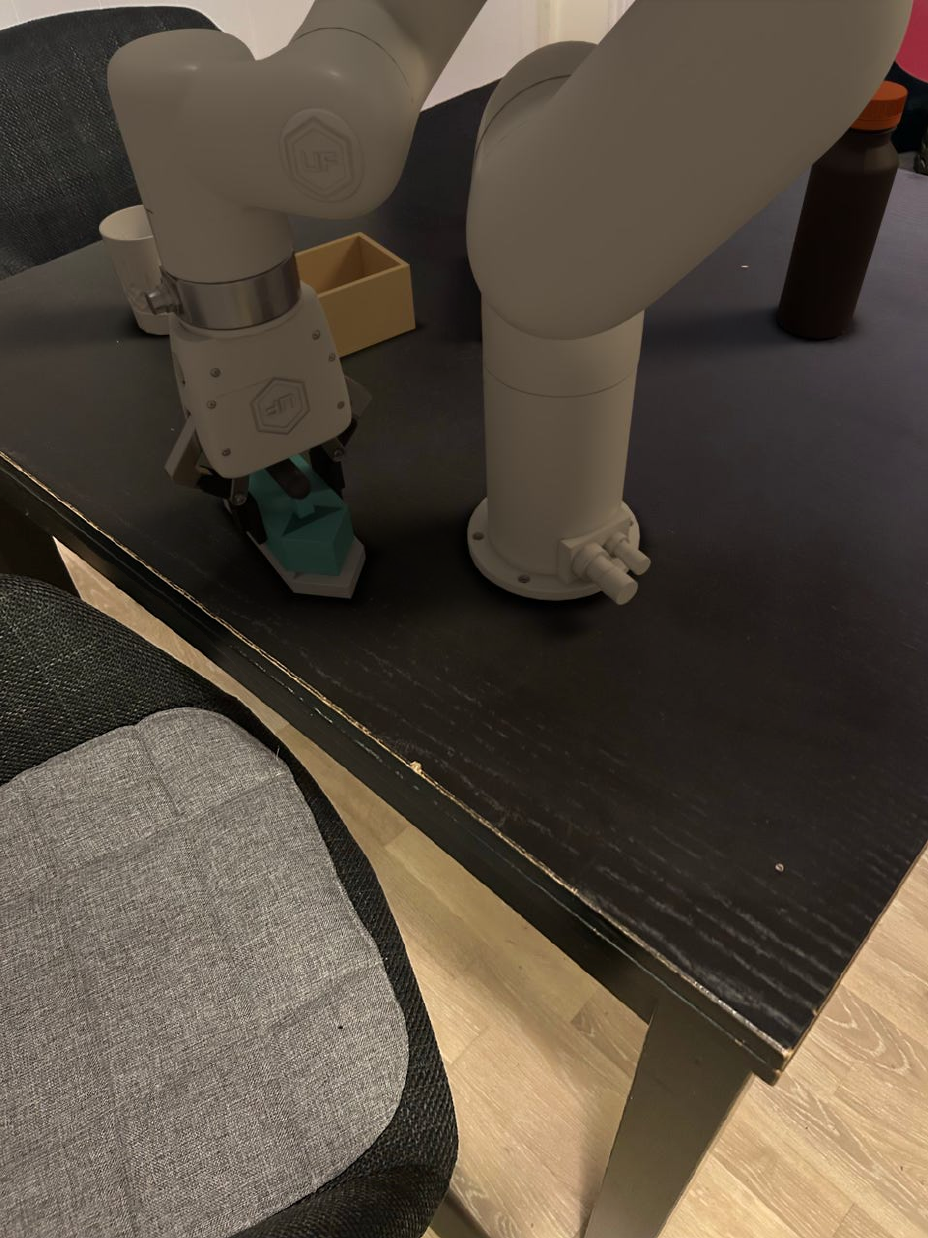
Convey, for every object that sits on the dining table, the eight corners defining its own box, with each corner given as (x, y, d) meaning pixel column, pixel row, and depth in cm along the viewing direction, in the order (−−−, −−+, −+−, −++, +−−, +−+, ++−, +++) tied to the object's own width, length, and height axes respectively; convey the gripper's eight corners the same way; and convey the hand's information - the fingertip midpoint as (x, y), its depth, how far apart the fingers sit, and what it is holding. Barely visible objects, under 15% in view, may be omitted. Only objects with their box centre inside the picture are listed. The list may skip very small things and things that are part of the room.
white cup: (117, 331, 89) (81, 233, 81) (162, 295, 94) (132, 199, 86) (182, 344, 87) (151, 244, 79) (225, 305, 91) (199, 208, 84)
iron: (225, 506, 70) (199, 427, 64) (292, 476, 72) (273, 398, 66) (313, 617, 61) (293, 538, 55) (386, 580, 63) (374, 500, 58)
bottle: (784, 299, 87) (838, 71, 72) (855, 311, 85) (926, 79, 70) (768, 332, 83) (822, 98, 68) (842, 346, 81) (915, 108, 66)
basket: (415, 328, 87) (409, 264, 82) (297, 374, 82) (283, 309, 77) (368, 292, 92) (360, 231, 87) (254, 334, 87) (239, 271, 82)
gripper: (117, 360, 46) (206, 595, 60) (392, 262, 52) (417, 495, 66) (72, 305, 51) (165, 536, 64) (332, 220, 57) (367, 447, 70)
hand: (293, 513), depth 65 cm, fingers closed on iron, 5 cm apart
